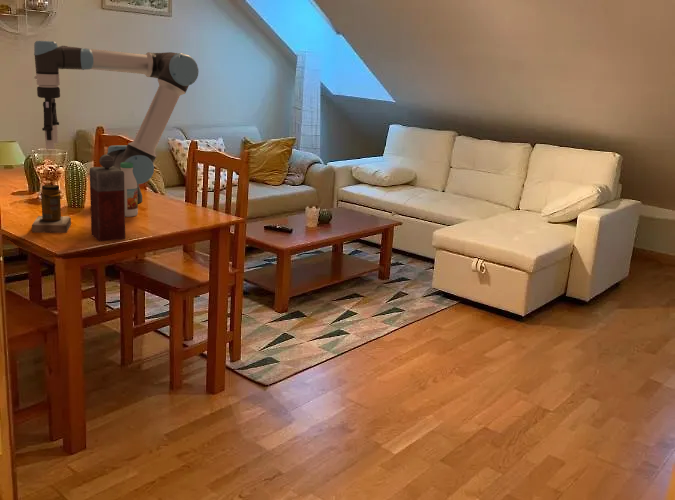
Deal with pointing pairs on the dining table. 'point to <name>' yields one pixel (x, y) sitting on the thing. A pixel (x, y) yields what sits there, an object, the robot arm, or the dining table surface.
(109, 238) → the square decanter
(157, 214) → the dining table surface
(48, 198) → the condiment
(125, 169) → the milk bottle
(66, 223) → the stand
